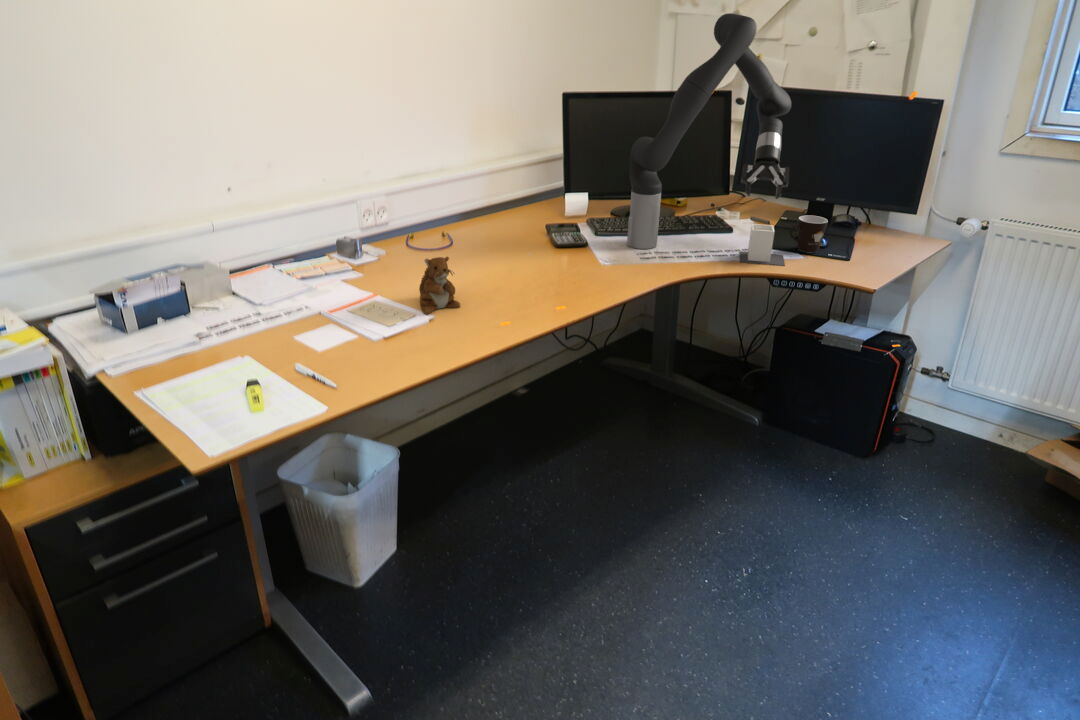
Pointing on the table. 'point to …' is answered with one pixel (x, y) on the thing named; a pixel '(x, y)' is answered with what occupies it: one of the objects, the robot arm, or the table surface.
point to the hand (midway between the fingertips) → (762, 196)
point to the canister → (760, 242)
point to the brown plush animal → (437, 286)
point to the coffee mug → (810, 232)
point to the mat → (774, 260)
